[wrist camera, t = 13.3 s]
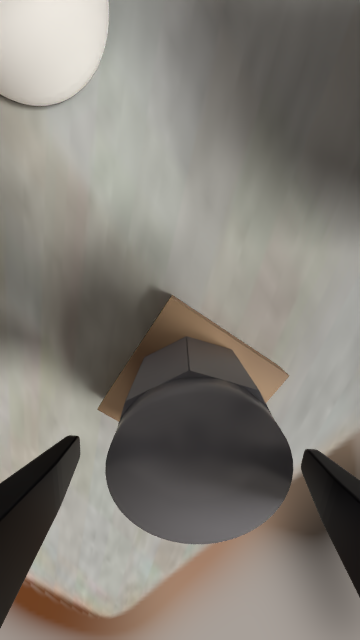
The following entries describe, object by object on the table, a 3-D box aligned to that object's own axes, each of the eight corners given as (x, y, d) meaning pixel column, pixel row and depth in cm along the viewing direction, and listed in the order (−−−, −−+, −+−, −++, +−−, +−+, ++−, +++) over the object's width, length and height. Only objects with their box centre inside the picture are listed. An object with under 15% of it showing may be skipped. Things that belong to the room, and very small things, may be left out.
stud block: (172, 295, 12) (166, 309, 7) (279, 366, 13) (334, 418, 8) (104, 397, 13) (64, 462, 9) (205, 454, 14) (216, 539, 10)
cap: (125, 424, 12) (88, 521, 8) (152, 326, 11) (130, 368, 6) (224, 450, 13) (251, 559, 8) (264, 359, 11) (325, 423, 7)
